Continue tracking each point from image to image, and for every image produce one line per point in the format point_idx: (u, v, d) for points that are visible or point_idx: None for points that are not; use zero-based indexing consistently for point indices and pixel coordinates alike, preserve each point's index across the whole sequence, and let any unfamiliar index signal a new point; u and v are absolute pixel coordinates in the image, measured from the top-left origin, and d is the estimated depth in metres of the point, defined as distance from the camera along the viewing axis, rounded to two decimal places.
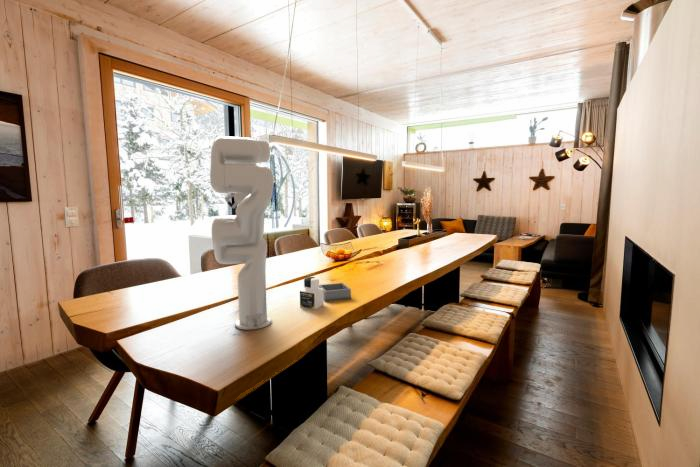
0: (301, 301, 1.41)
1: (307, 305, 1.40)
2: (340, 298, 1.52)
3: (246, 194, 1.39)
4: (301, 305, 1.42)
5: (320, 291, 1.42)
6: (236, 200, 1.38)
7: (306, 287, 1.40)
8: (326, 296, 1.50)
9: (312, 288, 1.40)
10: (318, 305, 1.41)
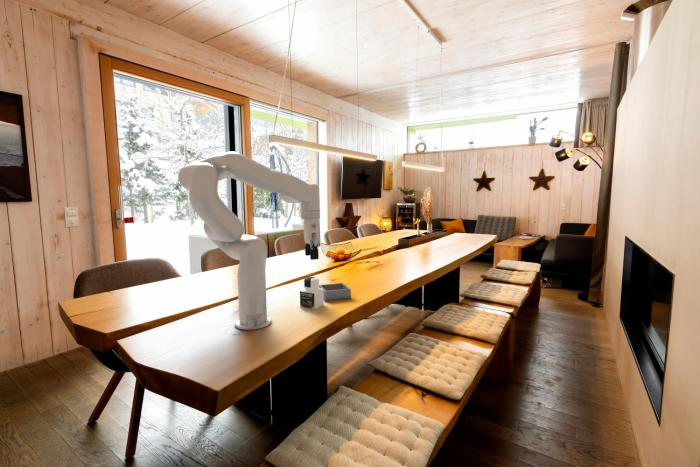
0: (301, 301, 1.41)
1: (307, 305, 1.40)
2: (340, 298, 1.52)
3: None
4: (301, 305, 1.42)
5: (320, 291, 1.42)
6: None
7: (306, 287, 1.40)
8: (326, 296, 1.50)
9: (312, 288, 1.40)
10: (318, 305, 1.41)
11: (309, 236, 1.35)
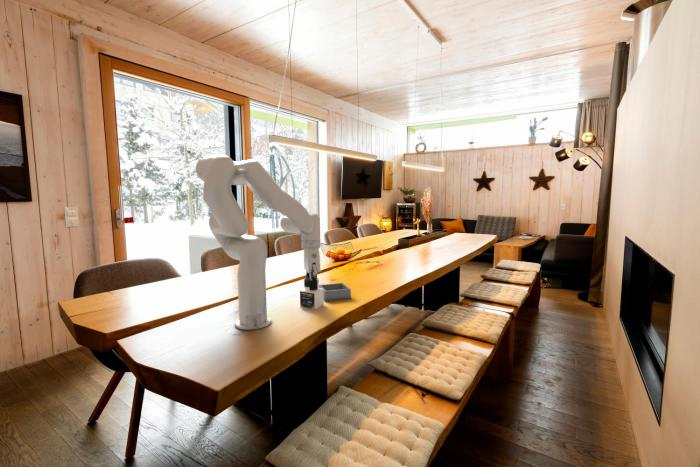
0: (301, 301, 1.41)
1: (307, 305, 1.40)
2: (340, 298, 1.52)
3: None
4: (301, 305, 1.42)
5: (320, 291, 1.42)
6: (320, 270, 1.39)
7: (306, 287, 1.40)
8: (326, 296, 1.50)
9: None
10: (318, 305, 1.41)
11: (309, 266, 1.37)
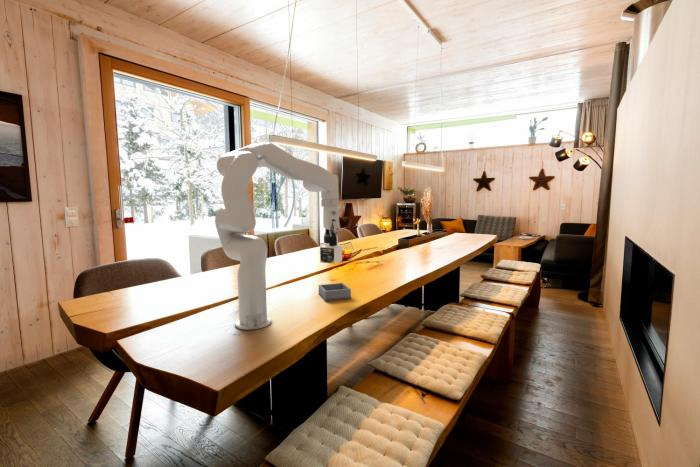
0: (321, 256, 1.51)
1: (327, 260, 1.50)
2: (340, 298, 1.52)
3: None
4: (321, 260, 1.51)
5: (339, 247, 1.52)
6: (339, 226, 1.48)
7: (326, 243, 1.50)
8: (326, 296, 1.50)
9: None
10: (337, 260, 1.51)
11: (329, 222, 1.46)
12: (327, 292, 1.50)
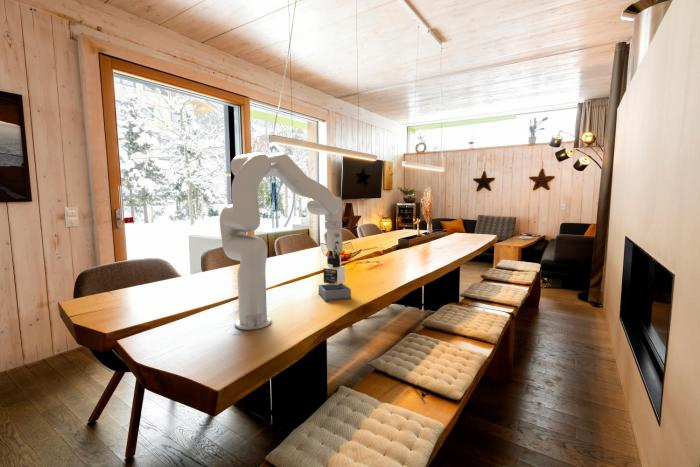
0: (325, 277, 1.54)
1: (331, 281, 1.53)
2: (340, 298, 1.52)
3: None
4: (325, 281, 1.54)
5: (342, 268, 1.55)
6: (342, 248, 1.51)
7: (329, 264, 1.53)
8: (326, 296, 1.50)
9: None
10: (340, 281, 1.54)
11: (333, 244, 1.49)
12: (327, 292, 1.50)
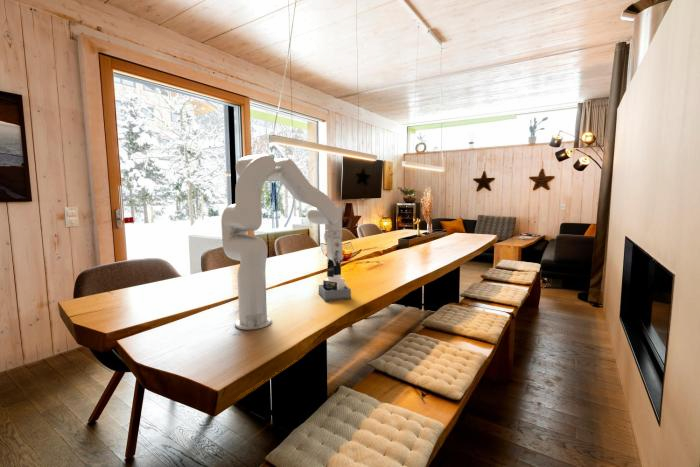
0: None
1: None
2: (340, 298, 1.52)
3: None
4: None
5: (342, 280, 1.55)
6: (342, 257, 1.52)
7: (329, 277, 1.54)
8: (326, 296, 1.50)
9: (335, 277, 1.53)
10: None
11: (333, 254, 1.50)
12: (327, 292, 1.50)
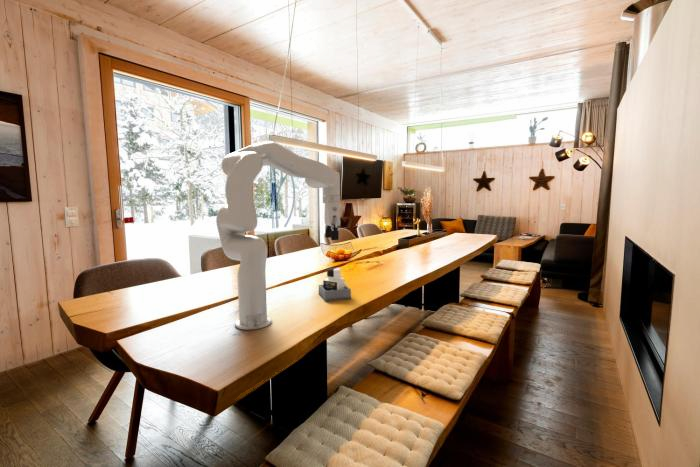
0: None
1: None
2: (340, 298, 1.52)
3: None
4: None
5: (342, 280, 1.55)
6: None
7: (329, 277, 1.54)
8: (326, 296, 1.50)
9: (335, 277, 1.53)
10: None
11: (330, 218, 1.48)
12: (327, 292, 1.50)
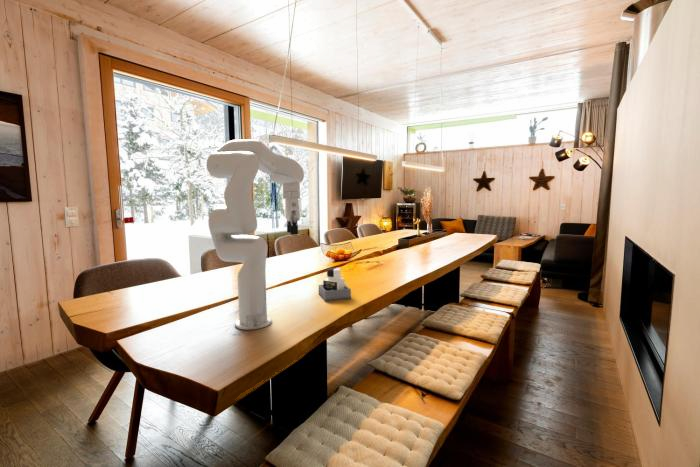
0: None
1: None
2: (340, 298, 1.52)
3: None
4: None
5: (342, 280, 1.55)
6: (299, 218, 1.54)
7: (329, 277, 1.54)
8: (326, 296, 1.50)
9: (335, 277, 1.53)
10: None
11: (289, 213, 1.52)
12: (327, 292, 1.50)
